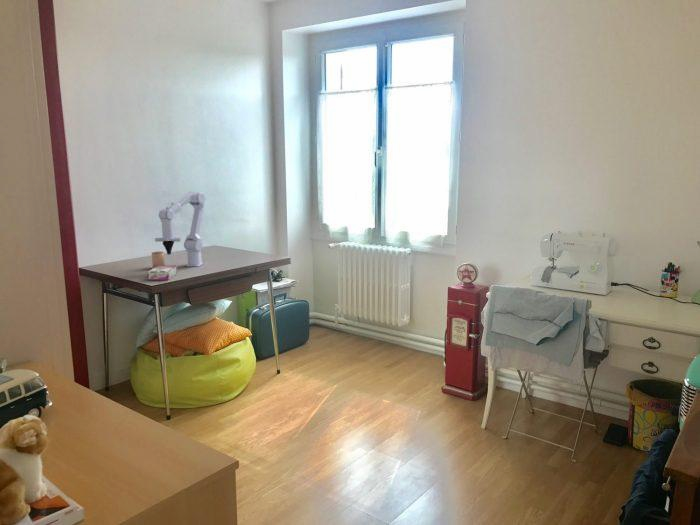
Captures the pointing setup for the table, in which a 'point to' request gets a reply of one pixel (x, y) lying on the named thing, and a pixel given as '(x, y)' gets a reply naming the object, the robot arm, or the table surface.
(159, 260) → the terracotta pencil cup
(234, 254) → the table surface
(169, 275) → the candy bar box
